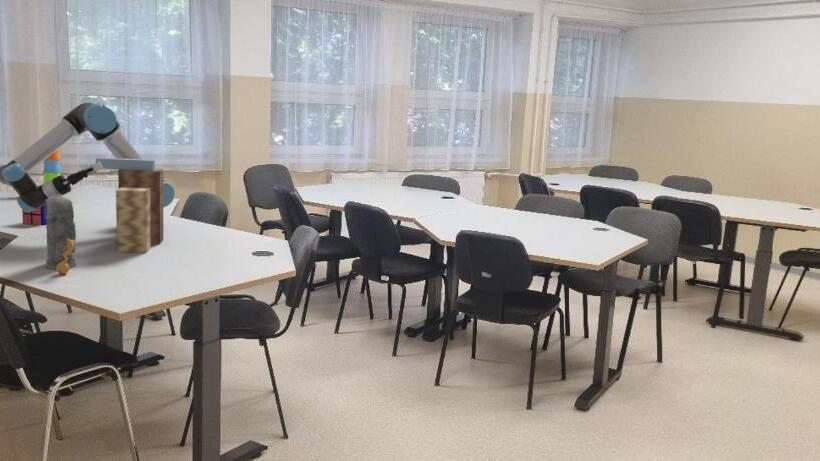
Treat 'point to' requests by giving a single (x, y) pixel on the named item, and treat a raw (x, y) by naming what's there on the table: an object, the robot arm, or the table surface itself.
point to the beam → (126, 164)
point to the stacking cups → (52, 166)
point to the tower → (156, 195)
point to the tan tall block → (133, 219)
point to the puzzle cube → (34, 217)
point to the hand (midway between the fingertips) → (105, 162)
